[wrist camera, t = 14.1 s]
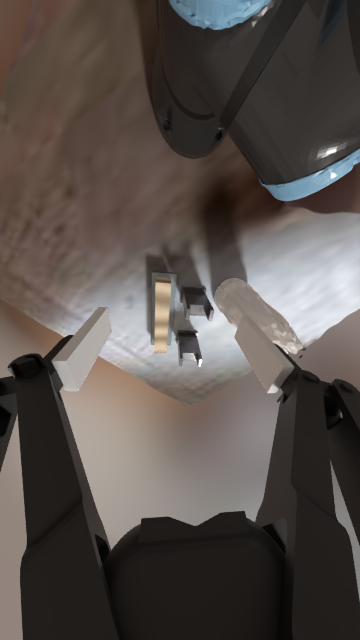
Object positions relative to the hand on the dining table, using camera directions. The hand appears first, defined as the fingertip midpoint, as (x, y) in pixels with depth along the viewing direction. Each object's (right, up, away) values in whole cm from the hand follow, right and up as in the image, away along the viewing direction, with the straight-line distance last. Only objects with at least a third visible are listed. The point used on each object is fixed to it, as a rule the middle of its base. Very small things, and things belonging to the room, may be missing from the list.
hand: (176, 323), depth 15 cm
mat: (-5, +2, +34) cm, 35 cm away
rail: (-5, +2, +34) cm, 34 cm away
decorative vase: (+16, +8, +32) cm, 37 cm away
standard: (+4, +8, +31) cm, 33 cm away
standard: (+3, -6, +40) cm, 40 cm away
